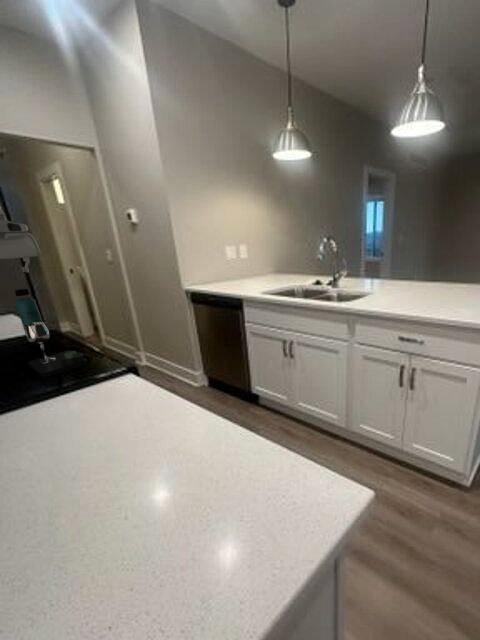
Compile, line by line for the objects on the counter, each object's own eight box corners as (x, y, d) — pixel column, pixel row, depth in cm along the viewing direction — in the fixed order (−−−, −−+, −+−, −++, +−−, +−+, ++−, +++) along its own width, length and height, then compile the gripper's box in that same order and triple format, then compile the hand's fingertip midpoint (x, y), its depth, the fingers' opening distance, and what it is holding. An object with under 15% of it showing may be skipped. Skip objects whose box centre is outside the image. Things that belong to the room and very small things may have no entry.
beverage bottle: (24, 342, 132) (5, 291, 124) (41, 337, 138) (23, 287, 130) (36, 343, 130) (17, 291, 122) (53, 338, 136) (35, 287, 128)
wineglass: (61, 358, 109) (49, 322, 105) (41, 365, 105) (27, 327, 100) (52, 356, 112) (39, 320, 108) (32, 362, 108) (18, 325, 103)
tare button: (67, 360, 104) (66, 355, 104) (64, 358, 106) (62, 353, 106) (79, 357, 106) (77, 352, 106) (75, 354, 108) (74, 350, 108)
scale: (44, 378, 99) (40, 368, 98) (28, 365, 109) (25, 357, 108) (88, 364, 108) (85, 355, 106) (70, 353, 117) (68, 345, 116)
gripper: (-60, 229, 94) (-39, 280, 99) (31, 225, 104) (46, 271, 109) (-54, 229, 99) (-34, 277, 104) (32, 225, 109) (46, 269, 114)
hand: (7, 274), depth 107 cm, fingers open, 8 cm apart
